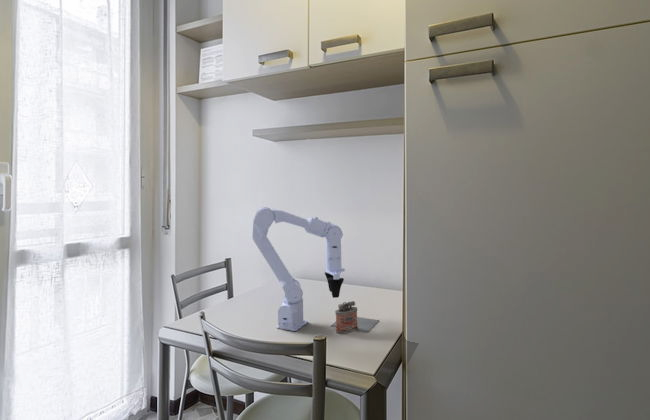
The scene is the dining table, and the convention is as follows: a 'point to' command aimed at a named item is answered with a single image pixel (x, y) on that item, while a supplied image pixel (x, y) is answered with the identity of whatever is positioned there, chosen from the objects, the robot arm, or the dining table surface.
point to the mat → (363, 324)
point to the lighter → (346, 318)
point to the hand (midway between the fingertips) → (334, 294)
